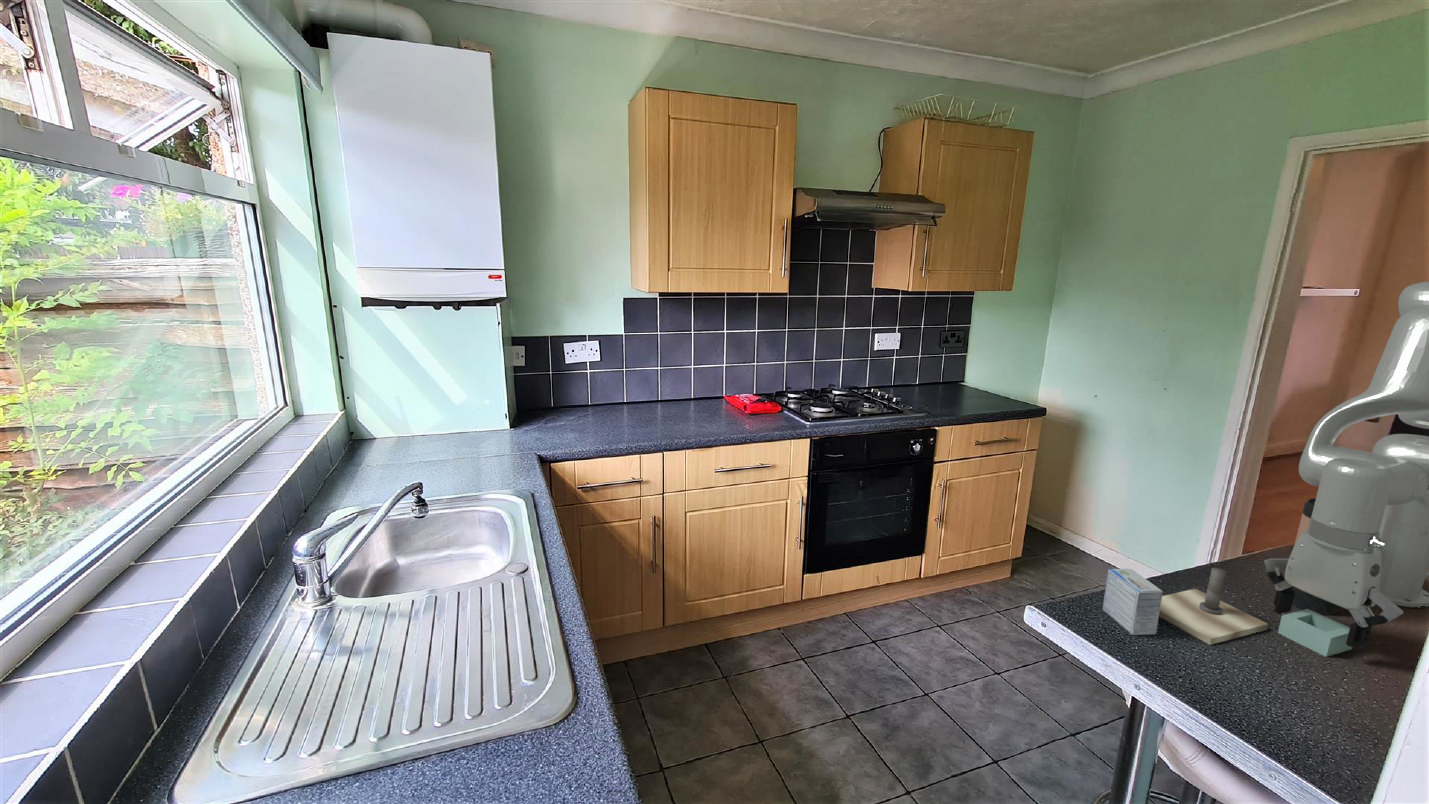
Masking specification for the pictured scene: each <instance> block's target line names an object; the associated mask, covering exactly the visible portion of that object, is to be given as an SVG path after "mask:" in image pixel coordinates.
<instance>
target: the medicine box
mask: <svg viewBox="0 0 1429 804" xmlns="http://www.w3.org/2000/svg"><path fill="white" fill-rule="evenodd" d="M1105 583H1106V584H1105V588H1104V589H1105V591H1104V597H1103V603H1102V611H1104V612H1105V613H1106V614H1107V615H1108V616H1110V618H1112V619H1113V620H1114V621H1115V622H1117V623H1118V624H1119V625H1120V626H1121V627H1123V628H1124V629H1125V630H1126V631H1127V632H1128V633H1129V634H1130V635H1131V636H1148V635H1156V634H1157V630H1158V624H1159V612H1160V606H1161V600H1162V596H1163V590H1162V589H1160V588H1159V587H1157V585H1155V584H1154V583H1152V582H1151V581H1149V580H1148V579H1146V577H1144V576H1142V575H1141V574H1140V573H1138V572H1137V571H1135V570H1134V569H1132V568H1109V569H1108V571H1107V577H1106V582H1105Z"/></svg>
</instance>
